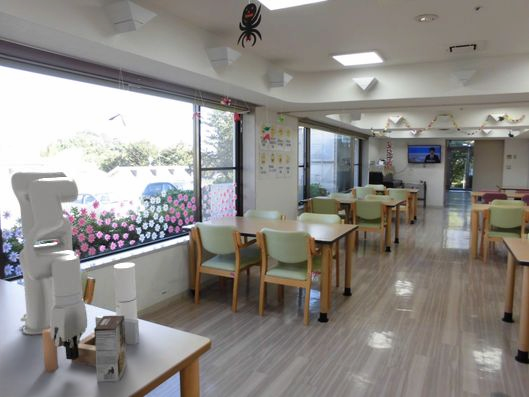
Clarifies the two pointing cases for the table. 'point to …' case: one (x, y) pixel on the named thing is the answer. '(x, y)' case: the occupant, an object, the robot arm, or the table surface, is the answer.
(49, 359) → the peach rounded capsule
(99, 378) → the coffee box
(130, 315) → the cylindrical container
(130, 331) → the backstop wall
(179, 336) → the table surface
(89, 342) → the block
